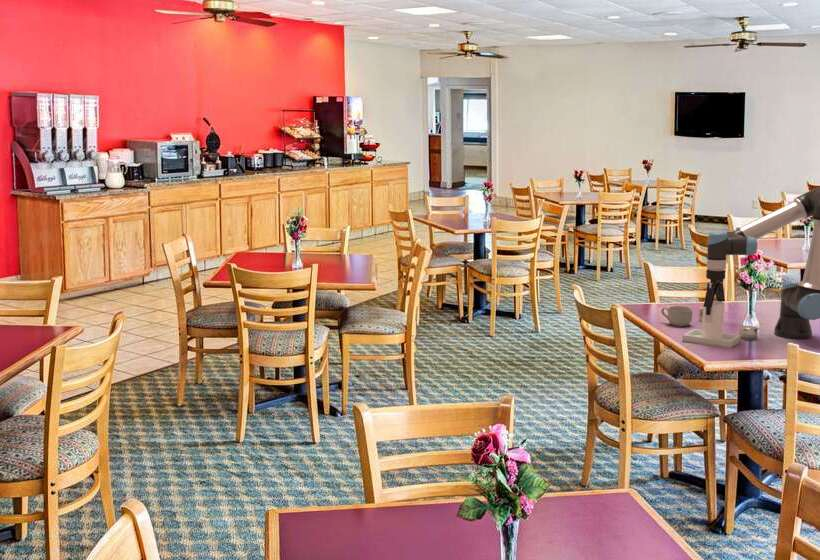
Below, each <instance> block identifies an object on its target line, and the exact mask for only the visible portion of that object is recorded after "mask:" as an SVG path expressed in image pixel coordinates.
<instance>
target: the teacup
mask: <svg viewBox="0 0 820 560" xmlns="http://www.w3.org/2000/svg"><path fill="white" fill-rule="evenodd" d="M664 310H666V311H667V313H665V312H664ZM693 310H694V309H693V308H692V307H690V306H684V305H671V306H663V307H662V308H661V312H660V313H661V314H662V316H664V317H665V319H667V321H668V322H669V324H671V325H672V326H674V327H678V326H679V327H680V328H682V327H683V326H684V327H686V326H688V325H690V324H691V322H692V320H693Z"/></svg>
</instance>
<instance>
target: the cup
mask: <svg viewBox="0 0 820 560" xmlns="http://www.w3.org/2000/svg"><path fill="white" fill-rule="evenodd" d="M704 302H705V300H704V301H703V303H702V307H703V305H704ZM712 307H713V313H712V323H707V322H705V310H706V307H703V318H702V322H701V330H702V335H701V337H705V338H712V339H719V340H722V333H723V330H724V329H723V327H724V326H723V325H724V314H725V313H724V312H725V302H724V301H722V302H720V301H717V300H714V301H713V304H712Z"/></svg>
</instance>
